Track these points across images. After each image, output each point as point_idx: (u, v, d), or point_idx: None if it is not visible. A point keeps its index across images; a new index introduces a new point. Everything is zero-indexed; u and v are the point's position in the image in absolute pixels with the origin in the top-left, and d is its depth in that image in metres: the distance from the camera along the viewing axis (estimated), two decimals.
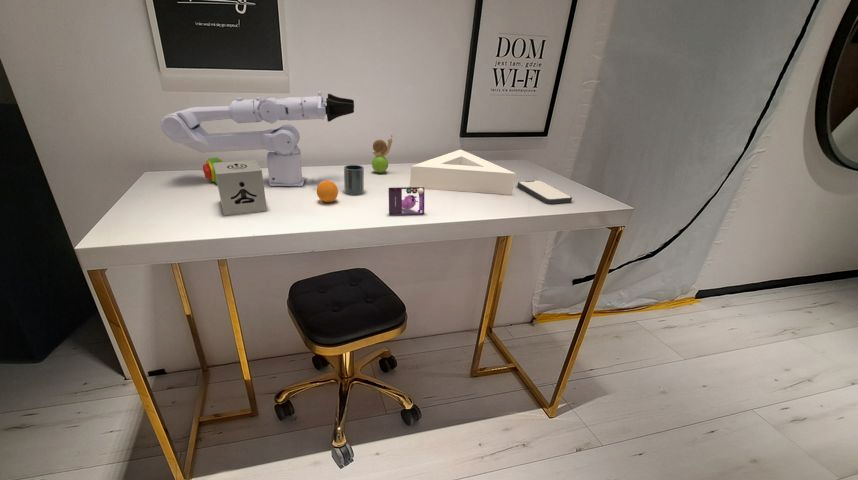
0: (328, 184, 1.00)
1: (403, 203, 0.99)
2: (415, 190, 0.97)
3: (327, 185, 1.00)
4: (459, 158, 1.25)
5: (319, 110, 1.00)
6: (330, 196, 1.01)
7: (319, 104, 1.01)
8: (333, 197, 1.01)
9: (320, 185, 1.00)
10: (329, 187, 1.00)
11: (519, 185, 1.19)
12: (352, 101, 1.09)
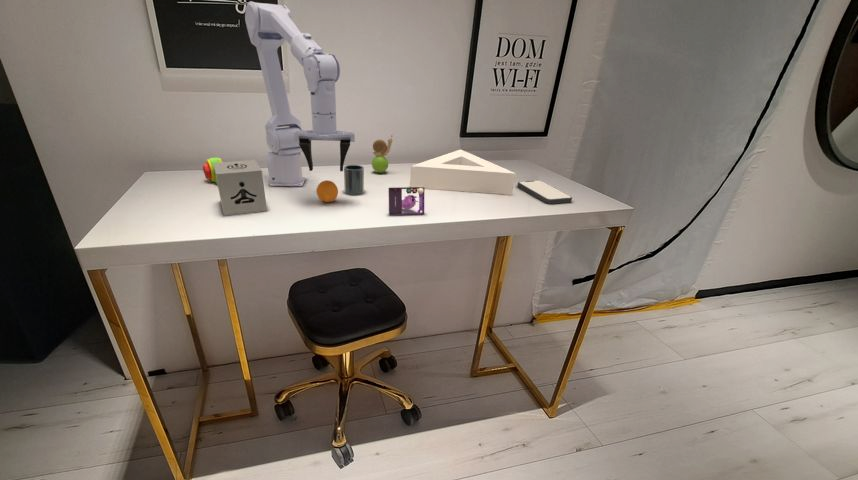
0: (328, 184, 1.00)
1: (403, 203, 0.99)
2: (415, 190, 0.97)
3: (327, 185, 1.00)
4: (459, 158, 1.25)
5: (294, 133, 0.94)
6: (330, 196, 1.01)
7: (303, 134, 0.93)
8: (333, 197, 1.01)
9: (320, 185, 1.00)
10: (329, 187, 1.00)
11: (519, 185, 1.19)
12: (340, 169, 0.99)
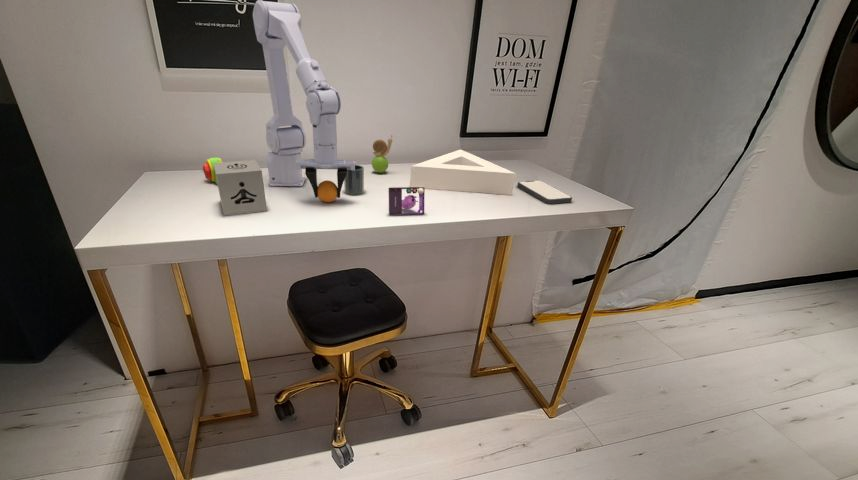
0: (328, 184, 1.00)
1: (403, 203, 0.99)
2: (415, 190, 0.97)
3: (327, 185, 1.00)
4: (459, 158, 1.25)
5: (296, 162, 0.98)
6: (330, 196, 1.01)
7: (305, 164, 0.97)
8: (333, 197, 1.01)
9: (320, 185, 1.00)
10: (329, 187, 1.00)
11: (519, 185, 1.19)
12: (337, 196, 1.03)
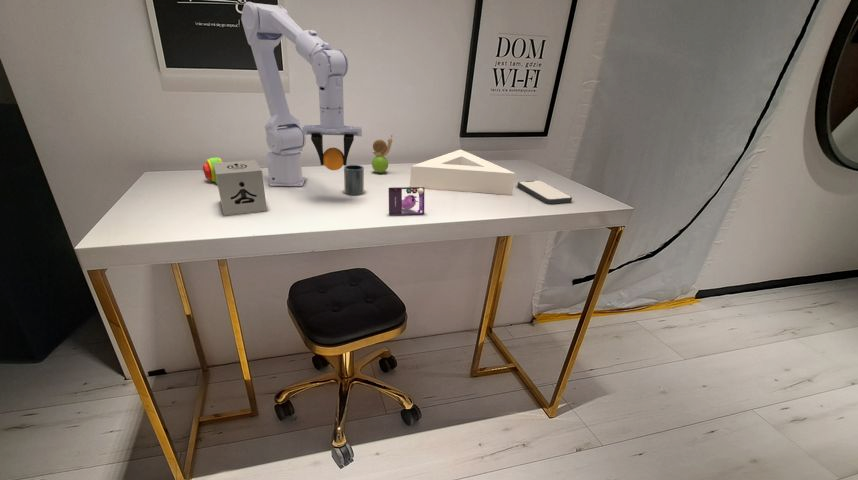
0: (335, 150, 0.98)
1: (403, 203, 0.99)
2: (415, 190, 0.97)
3: (333, 152, 0.98)
4: (459, 158, 1.25)
5: None
6: (336, 163, 0.98)
7: (311, 129, 0.95)
8: (339, 164, 0.99)
9: (326, 152, 0.98)
10: (335, 153, 0.98)
11: (519, 185, 1.19)
12: None
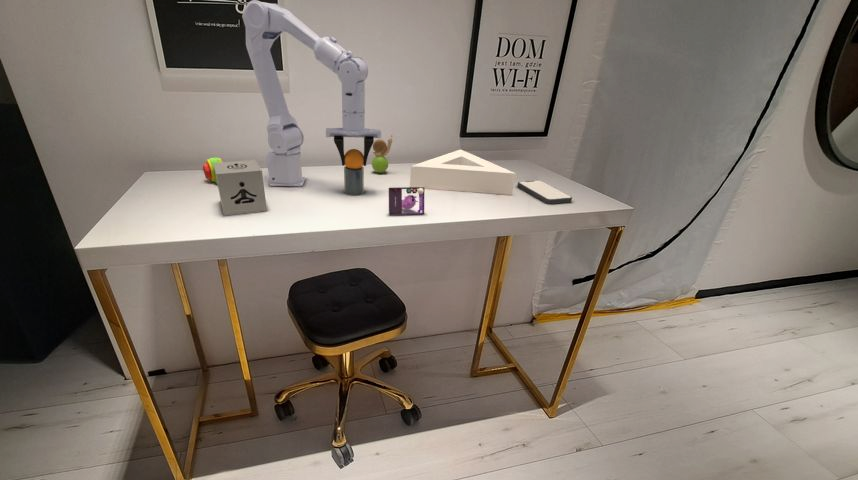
0: (355, 151, 1.04)
1: (403, 203, 0.99)
2: (415, 190, 0.97)
3: (354, 153, 1.04)
4: (459, 158, 1.25)
5: None
6: (357, 163, 1.05)
7: (334, 131, 1.01)
8: (360, 165, 1.05)
9: (347, 153, 1.04)
10: (356, 154, 1.04)
11: (519, 185, 1.19)
12: (363, 164, 1.07)
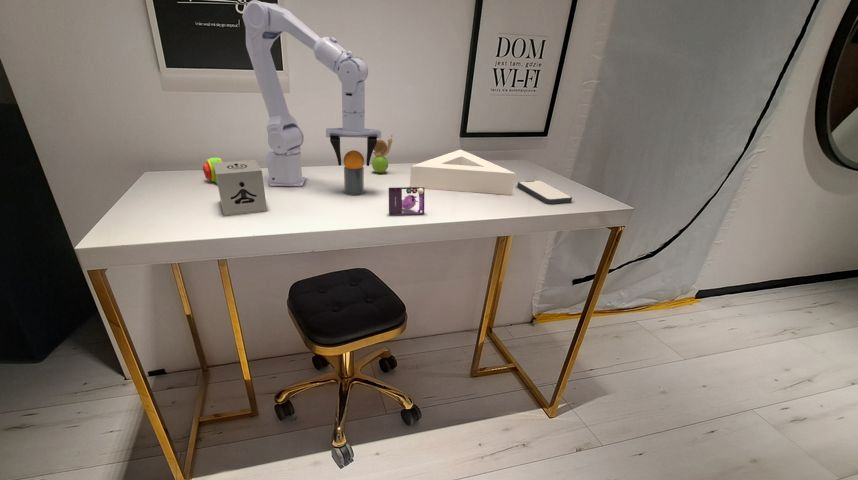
0: (355, 153, 1.04)
1: (403, 203, 0.99)
2: (415, 190, 0.97)
3: (354, 154, 1.04)
4: (459, 158, 1.25)
5: None
6: (357, 164, 1.05)
7: (334, 131, 1.01)
8: (360, 166, 1.06)
9: (347, 154, 1.05)
10: (356, 156, 1.04)
11: (519, 185, 1.19)
12: None
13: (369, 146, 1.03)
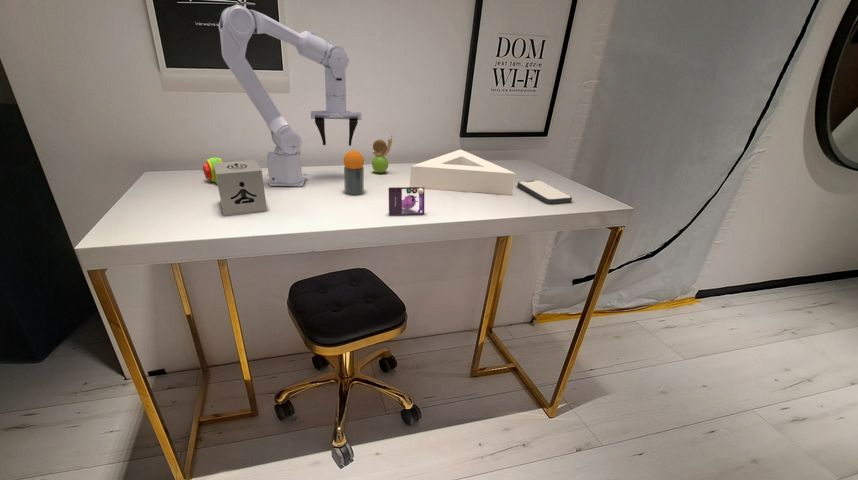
0: (355, 153, 1.04)
1: (403, 203, 0.99)
2: (415, 190, 0.97)
3: (354, 154, 1.04)
4: (459, 158, 1.25)
5: None
6: (357, 164, 1.05)
7: (318, 113, 1.11)
8: (360, 166, 1.06)
9: (347, 154, 1.05)
10: (356, 156, 1.04)
11: (519, 185, 1.19)
12: None
13: (350, 127, 1.13)
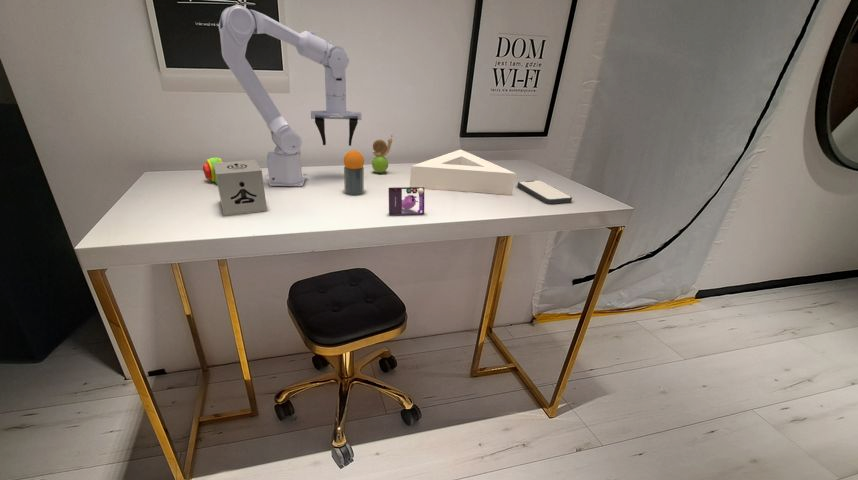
0: (355, 153, 1.04)
1: (403, 203, 0.99)
2: (415, 190, 0.97)
3: (354, 154, 1.04)
4: (459, 158, 1.25)
5: None
6: (357, 164, 1.05)
7: (318, 113, 1.11)
8: (360, 166, 1.06)
9: (347, 154, 1.05)
10: (356, 156, 1.04)
11: (519, 185, 1.19)
12: None
13: (350, 127, 1.13)
